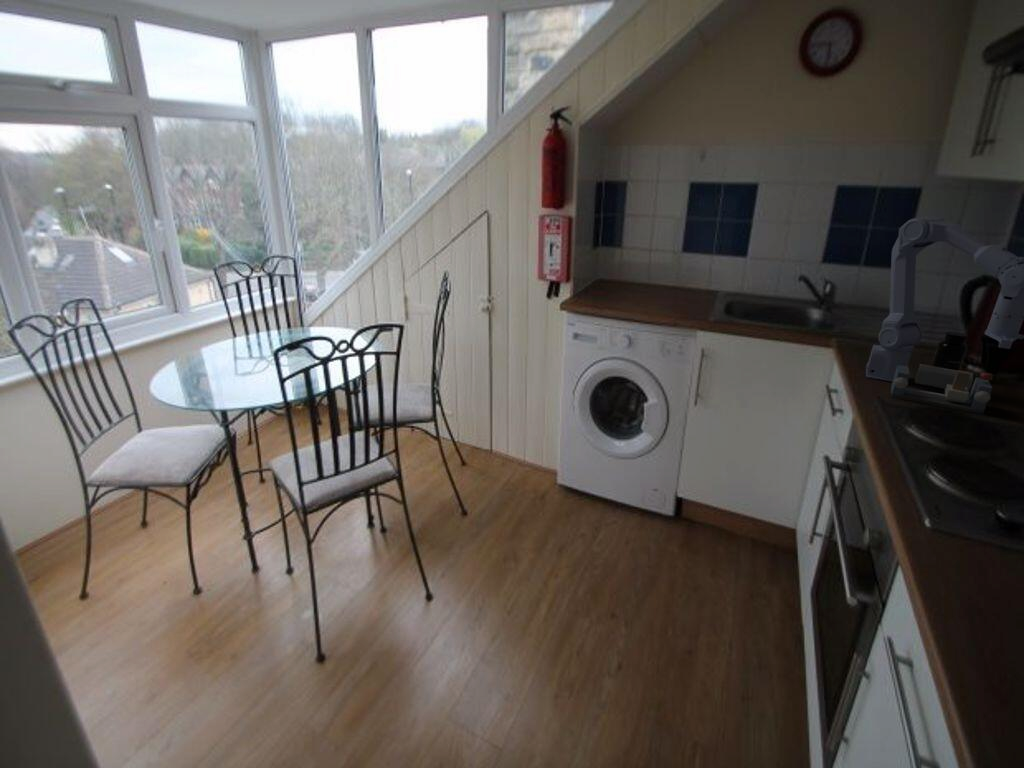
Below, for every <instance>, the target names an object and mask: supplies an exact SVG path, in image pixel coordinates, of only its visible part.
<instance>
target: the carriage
mask: <svg viewBox="0 0 1024 768" xmlns="http://www.w3.org/2000/svg"><path fill="white" fill-rule="evenodd" d="M970 373H971V372H969V371H966V370H965V371H964V370H961V369H960V370H957V372H956V375H955V378H954V381H953V384H952V385H950V384H947V386H946V389H944V394H945V395H946V397H945V400H950V401H956V402H962V403H965V402H966V401H967V398H969V395H970V391H969V392H968V389H967V387H966V385H967V382H968V379H969V377H970Z"/></svg>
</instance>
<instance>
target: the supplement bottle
mask: <svg viewBox="0 0 1024 768" xmlns="http://www.w3.org/2000/svg"><path fill="white" fill-rule="evenodd" d="M967 338H968V335H967V334H966V333H962V332H956V331H947V332H946V334H945V336H944V340H941V341H939V342H938V344H937V347H936V349H935V352H934V356H933V358H932V362H931V364H930V366H934V367H940V368H945V369H951V370H960V371H961V368H962V365H963V362H964V359H965V357H966V353H967V352H968V345H967V344H965V343H966V341H967Z"/></svg>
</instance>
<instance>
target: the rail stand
mask: <svg viewBox="0 0 1024 768" xmlns="http://www.w3.org/2000/svg"><path fill="white" fill-rule="evenodd" d="M909 378H910V370H909V366H901V365H897V369H896V372H895V375H894V379H893V382H892V381H891V385H890V397H891V398H893V399H899V400H905V401H908V402H909V401H910V402H914V403H915V402H916V403H920V404H921V403H922V404H924V405H925V404H926V405H932V406H936V407H937V406H938V407H943V408H948V409H954V410H958V411H959V410H960V411H964V412H968V413H969V412H970V413H975V414H981V415H984V413H985V410H986V406H987V404H988V402H989V401H990V400H991V397H992V396H991V392H992V390H993V386H992V385H991V383H990V380H984V379H981V378H979V377H975V378H974V380H973V384H972V385H971V388H970V391H969V396H968V398H967V401H966V402H965V403H962V402H956V401H950V400H945V397H946V395H945V393H940V392H934V391H929V390H924V389H923V390H922V389H918V388H910V387H908V385H909V381H908V380H909Z"/></svg>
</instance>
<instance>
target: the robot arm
mask: <svg viewBox="0 0 1024 768" xmlns="http://www.w3.org/2000/svg"><path fill="white" fill-rule="evenodd" d="M938 242H942V243H943V242H945V243H947V244H948V245H950V246H952V247H954V248H956V249H958V250H959V251H962V253H965V254H966V255H969V256H970V257H973V263H974V265H975V266H977V267H978V268H980V269H981V270H983V271H985V272H986V273H988V274H990V276H992V277H995V278H996V279H997V280H998V281H999V284H1000V286H1001V288H1000V292H999V294H998V297H997V299H996V302H995V306H994V308H993V311H992V314H991V318H990V320H989V323H988V326H987V329H985V331H984V334H981V335H980V339H981V348H982V349H981V357H980V364H981V365H984V366H985V372H986V373H991V374H993V375H998V373H999V372H1000V371H1001V369H1002V368H1003V367H1004V365H1005V364H1006V363H1007V361H1008V360H1009V359H1010V358H1011V357H1012V356H1013V355H1015V354H1016V353H1018V348H1017V347H1012V344H1013V342H1015V341H1016V340H1018V339H1019V340H1023V339H1024V335H1023V334H1020V333H1019V332H1020V330H1021V327H1022V325H1023V321H1024V256H1018V255H1016V254H1014V253H1013V252H1011V251H1008V250H1007V249H1008V246H1006V245H1005V244H999V245H998V244H994V243H993V244H990V245H986V244H984V243H983V242H982V241H980V240H978V239H977V238H976V237H974V236H972V235H971V234H969V233H968V232H966V231H965V230H963V229H961V228H960V227H958V226H957V225H956V224H955V223H954V222H953V221H950V220H946V219H945V218H943V217H941V216H937V217H936V216H935V217H922V218H920V217H914V218H911V219H909V220H908V221H906V222H905V223H904V224H902V226H900V227H899V228H898V237H897V238H896V241H895V243H894V245H893V247H892V249H891V262H890V264H891V265H890V288H889V289H890V291H889V292H890V293H889V294H890V295H889V297H890V298H889V299H890V300H889V314H888V315H887V317H886V318H884V320H883V321H882V324H881V325H882V326H881V329H880V331H879V333H878V342H879V343H880V344H879V345H878V344H873V346H872V347H871V352H870V355H869V358H868V362H867V363H866V365H865V377H866V378H870V379H875V380H881V381H888V382H891V383H892V382H893V379H894V375H895V372H896V369H897V365H901V366H908V365H909V362H910V358H911V355H912V351H913V349H914V347H915V345H917V344H919V343H920V342H921V341H922V338H923V330H922V328H921V326H920V318H919V317H918V316H917V315H916V314H915V291H916V271H917V269H916V268H917V267H916V265H917V256H918V255H919V254H920V253H921V252H922V251H924V249H926V248H927V247H929V246H932V245H934V244H936V243H938ZM908 367H909V366H908Z"/></svg>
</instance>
